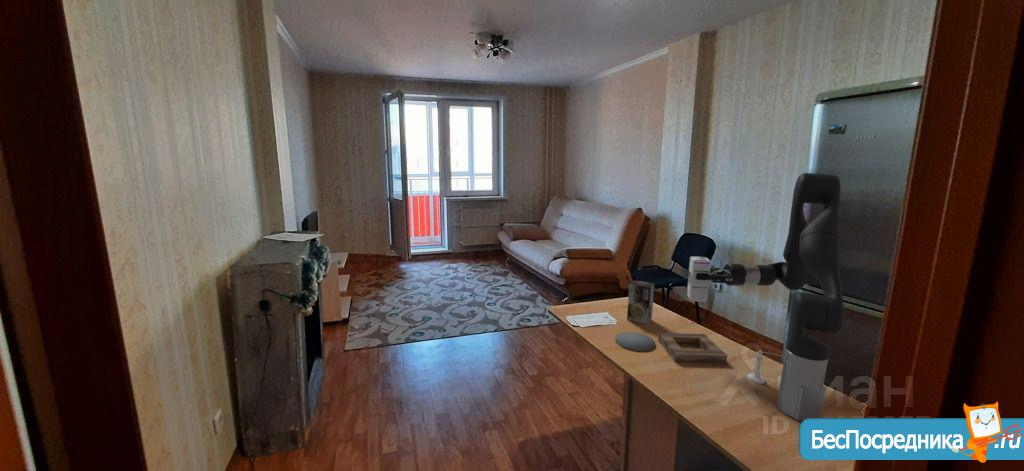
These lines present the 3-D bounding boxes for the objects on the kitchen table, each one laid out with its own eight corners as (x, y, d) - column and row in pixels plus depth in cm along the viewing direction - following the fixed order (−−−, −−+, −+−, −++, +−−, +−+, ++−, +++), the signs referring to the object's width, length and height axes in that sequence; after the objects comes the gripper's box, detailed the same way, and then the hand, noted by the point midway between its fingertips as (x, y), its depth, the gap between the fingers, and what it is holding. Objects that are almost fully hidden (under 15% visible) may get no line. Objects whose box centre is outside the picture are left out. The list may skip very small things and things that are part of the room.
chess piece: (743, 377, 129) (747, 347, 127) (753, 374, 131) (758, 345, 129) (757, 385, 125) (762, 354, 123) (768, 382, 127) (773, 352, 125)
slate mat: (660, 351, 145) (660, 349, 145) (620, 350, 145) (620, 348, 145) (647, 334, 159) (648, 332, 158) (611, 333, 159) (611, 331, 159)
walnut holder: (726, 363, 137) (727, 355, 137) (675, 362, 137) (676, 354, 137) (703, 341, 154) (704, 334, 153) (658, 340, 154) (658, 332, 154)
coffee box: (652, 319, 174) (655, 283, 171) (648, 324, 168) (651, 287, 165) (630, 315, 178) (633, 279, 175) (626, 319, 173) (629, 283, 170)
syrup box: (707, 302, 139) (712, 260, 136) (689, 301, 140) (693, 259, 137) (703, 297, 144) (707, 256, 141) (685, 295, 145) (689, 255, 143)
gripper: (731, 259, 147) (684, 258, 147) (754, 269, 132) (702, 268, 133) (729, 279, 148) (682, 278, 148) (751, 291, 134) (700, 290, 134)
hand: (692, 273), depth 140 cm, fingers closed on syrup box, 6 cm apart
